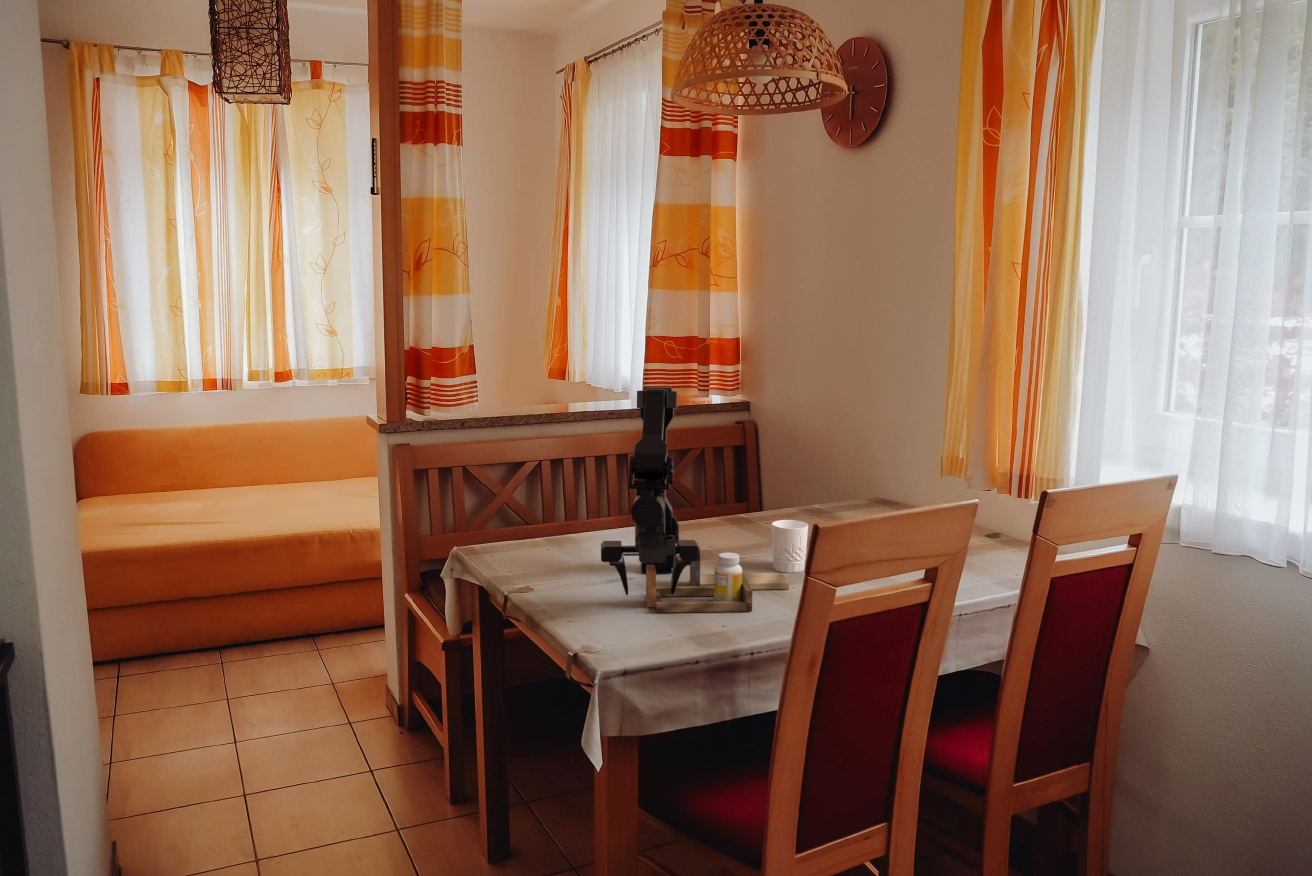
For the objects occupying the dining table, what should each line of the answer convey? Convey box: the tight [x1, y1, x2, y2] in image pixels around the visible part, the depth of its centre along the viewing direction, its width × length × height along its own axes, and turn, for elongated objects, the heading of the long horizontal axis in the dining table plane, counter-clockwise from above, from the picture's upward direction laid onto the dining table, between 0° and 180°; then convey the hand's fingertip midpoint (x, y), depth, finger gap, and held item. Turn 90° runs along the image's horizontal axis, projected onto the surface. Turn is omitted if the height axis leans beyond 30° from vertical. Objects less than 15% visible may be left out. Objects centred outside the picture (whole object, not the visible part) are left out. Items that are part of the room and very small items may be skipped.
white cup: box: [771, 519, 809, 574], centre depth 213 cm, size 8×8×10 cm
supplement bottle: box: [713, 552, 743, 601], centre depth 189 cm, size 5×5×10 cm
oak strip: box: [689, 559, 790, 590], centre depth 201 cm, size 20×7×7 cm, turn 94°
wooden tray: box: [645, 565, 754, 613], centre depth 189 cm, size 20×11×7 cm, turn 94°
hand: (649, 594), depth 188 cm, fingers open, 8 cm apart
